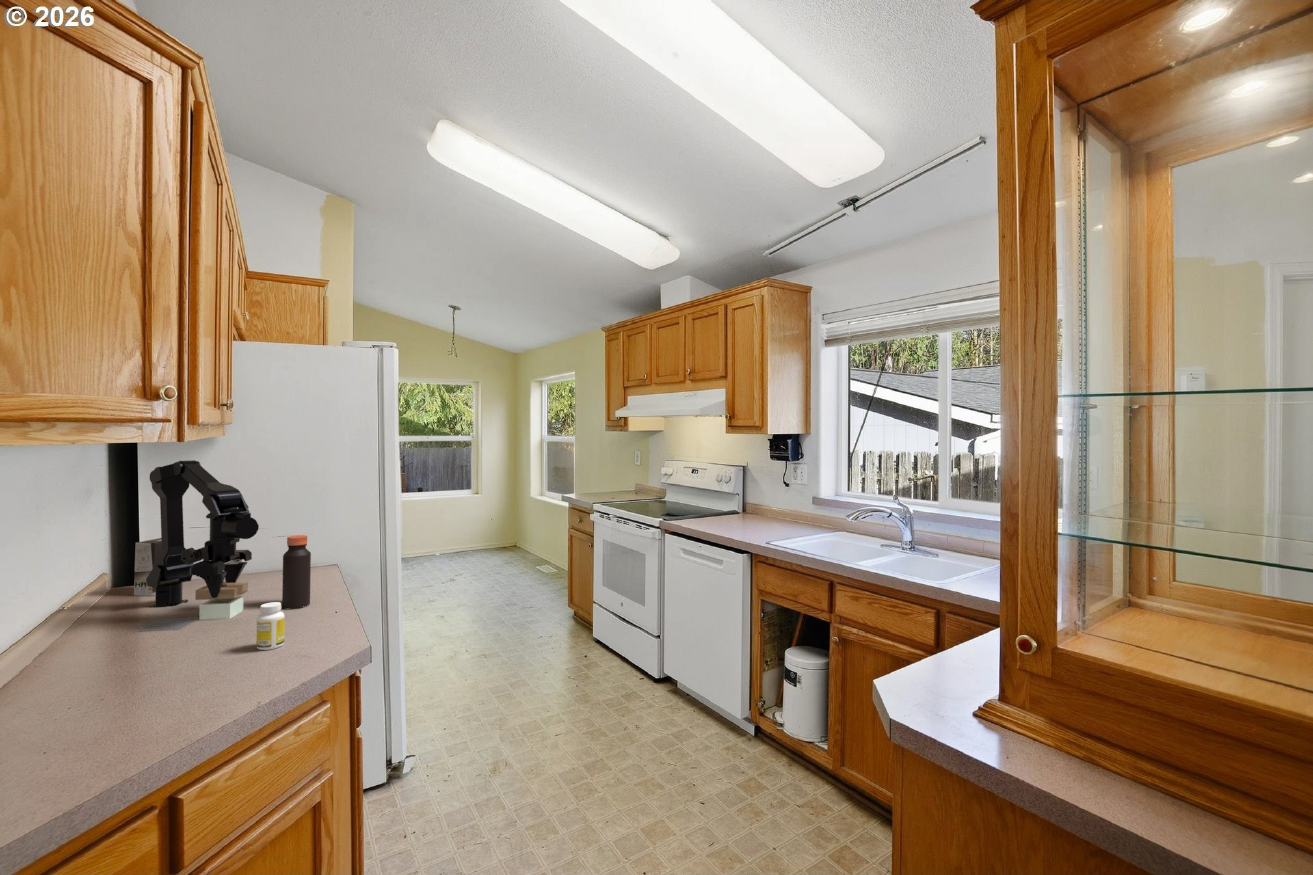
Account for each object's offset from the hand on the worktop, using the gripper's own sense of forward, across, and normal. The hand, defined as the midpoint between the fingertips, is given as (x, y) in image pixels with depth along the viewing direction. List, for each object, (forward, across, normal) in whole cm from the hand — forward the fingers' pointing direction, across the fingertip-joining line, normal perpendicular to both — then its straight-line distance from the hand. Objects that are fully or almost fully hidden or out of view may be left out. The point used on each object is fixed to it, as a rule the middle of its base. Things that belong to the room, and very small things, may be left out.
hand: (222, 593), depth 152 cm
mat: (+6, +6, -9) cm, 13 cm away
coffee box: (+7, -30, -32) cm, 44 cm away
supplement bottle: (+6, +25, +22) cm, 34 cm away
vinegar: (+6, -8, +15) cm, 18 cm away
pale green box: (+6, 0, 0) cm, 6 cm away
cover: (0, 0, 0) cm, 0 cm away
